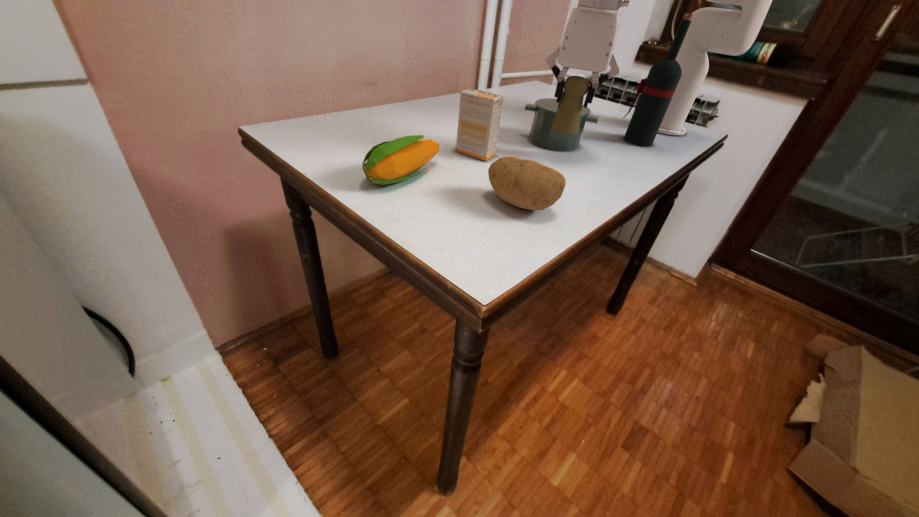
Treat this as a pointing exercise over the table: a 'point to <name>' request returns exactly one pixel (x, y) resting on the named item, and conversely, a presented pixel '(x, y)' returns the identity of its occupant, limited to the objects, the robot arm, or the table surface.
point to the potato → (526, 183)
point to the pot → (551, 138)
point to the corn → (398, 159)
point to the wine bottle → (656, 93)
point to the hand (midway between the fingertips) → (571, 102)
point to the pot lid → (556, 106)
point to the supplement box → (478, 123)
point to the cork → (571, 105)
